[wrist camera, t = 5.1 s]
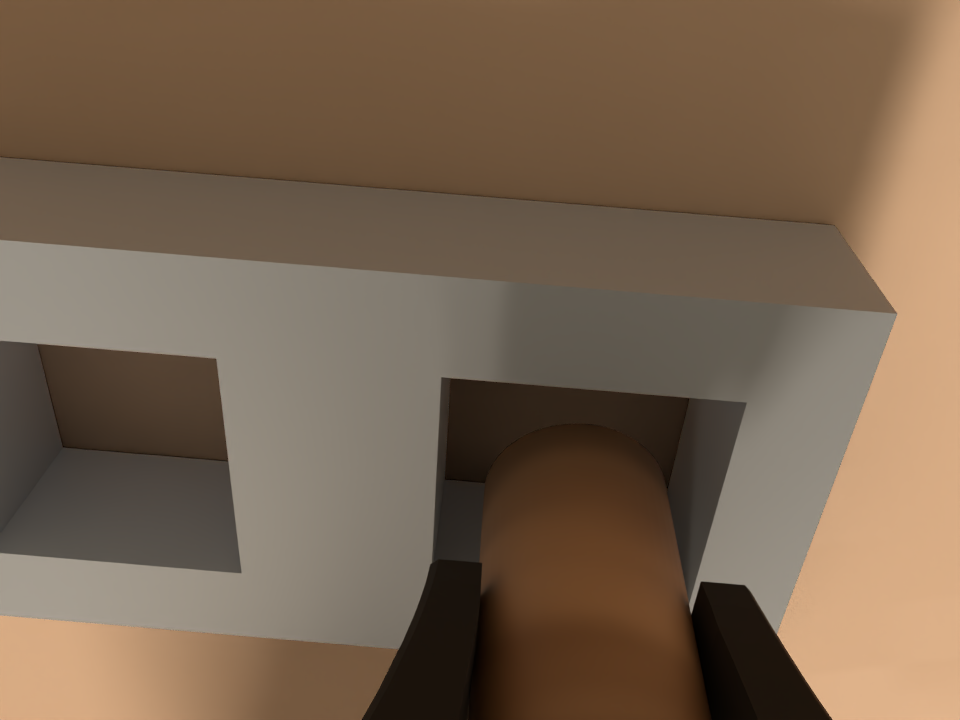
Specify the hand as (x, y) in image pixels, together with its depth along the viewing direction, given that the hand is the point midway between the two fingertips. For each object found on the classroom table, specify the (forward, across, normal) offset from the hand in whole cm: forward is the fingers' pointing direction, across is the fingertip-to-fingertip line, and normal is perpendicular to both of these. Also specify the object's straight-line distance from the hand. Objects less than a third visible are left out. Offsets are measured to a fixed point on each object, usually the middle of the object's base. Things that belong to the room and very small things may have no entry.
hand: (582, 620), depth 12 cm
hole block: (+5, +4, 0) cm, 7 cm away
